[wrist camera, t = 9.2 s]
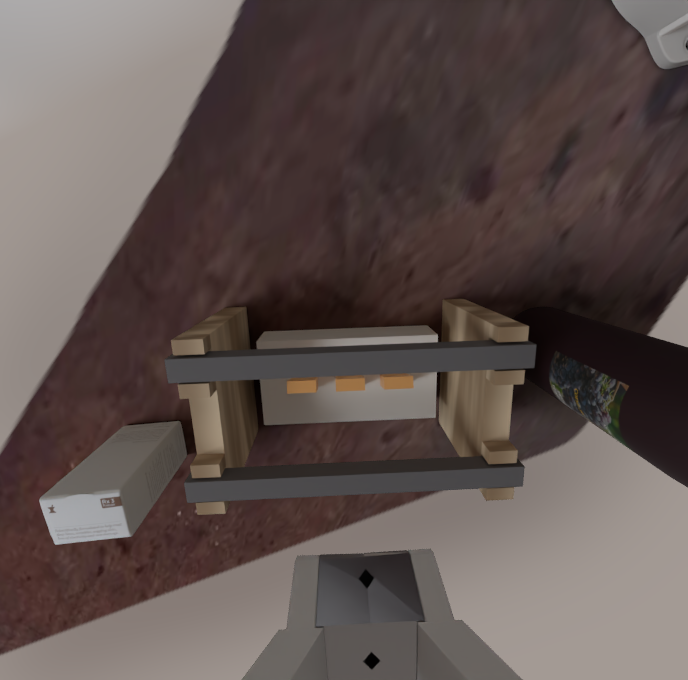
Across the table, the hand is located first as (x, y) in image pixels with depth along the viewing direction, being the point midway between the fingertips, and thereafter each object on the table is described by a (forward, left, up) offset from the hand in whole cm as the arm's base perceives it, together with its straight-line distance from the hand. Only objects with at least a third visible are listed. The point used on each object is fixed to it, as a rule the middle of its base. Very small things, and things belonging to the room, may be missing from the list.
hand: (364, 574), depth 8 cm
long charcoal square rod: (-1, 0, -18) cm, 18 cm away
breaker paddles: (-1, +5, -25) cm, 26 cm away
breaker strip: (-1, +5, -29) cm, 30 cm away
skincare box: (+19, +12, -29) cm, 37 cm away
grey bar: (-1, +9, -18) cm, 20 cm away
